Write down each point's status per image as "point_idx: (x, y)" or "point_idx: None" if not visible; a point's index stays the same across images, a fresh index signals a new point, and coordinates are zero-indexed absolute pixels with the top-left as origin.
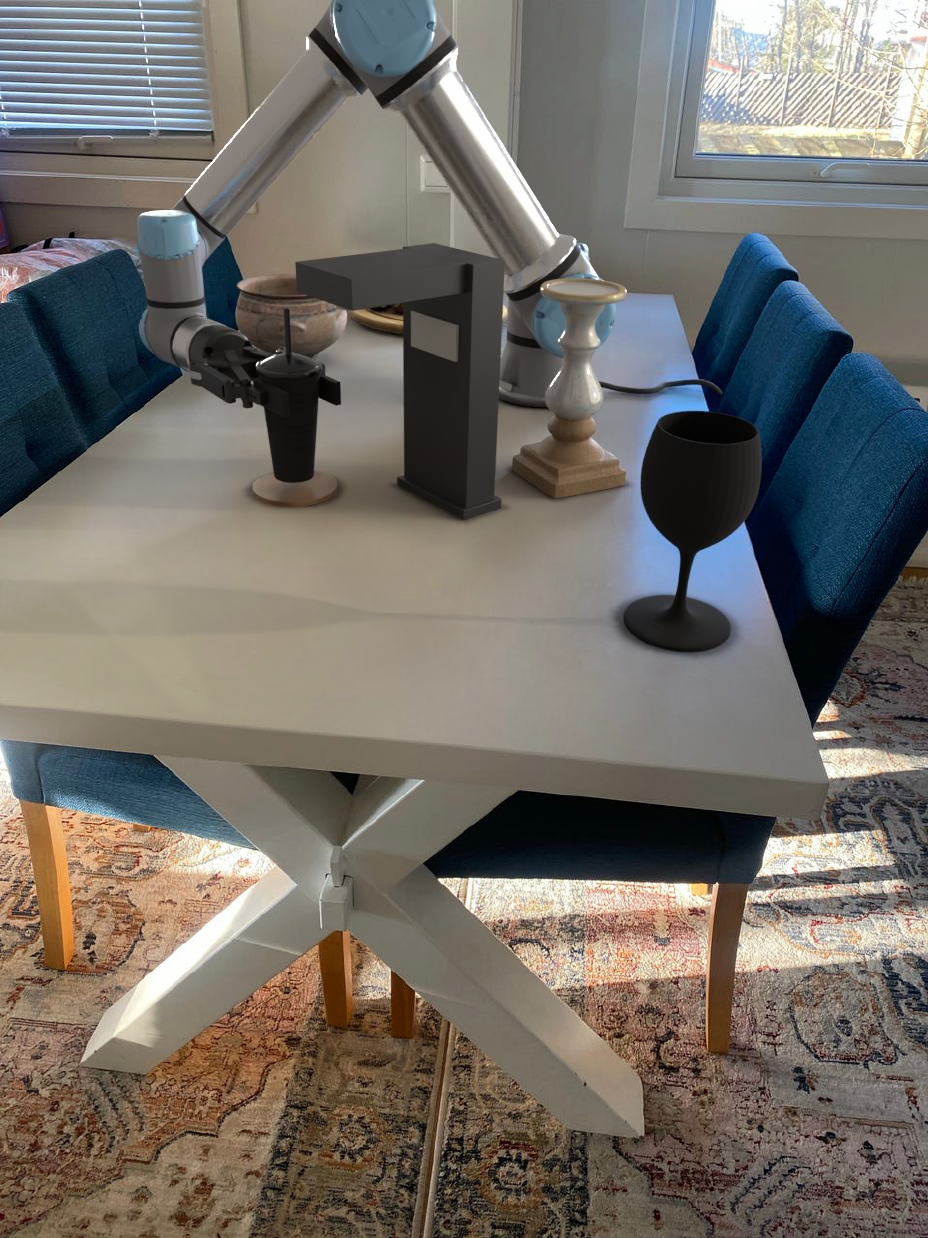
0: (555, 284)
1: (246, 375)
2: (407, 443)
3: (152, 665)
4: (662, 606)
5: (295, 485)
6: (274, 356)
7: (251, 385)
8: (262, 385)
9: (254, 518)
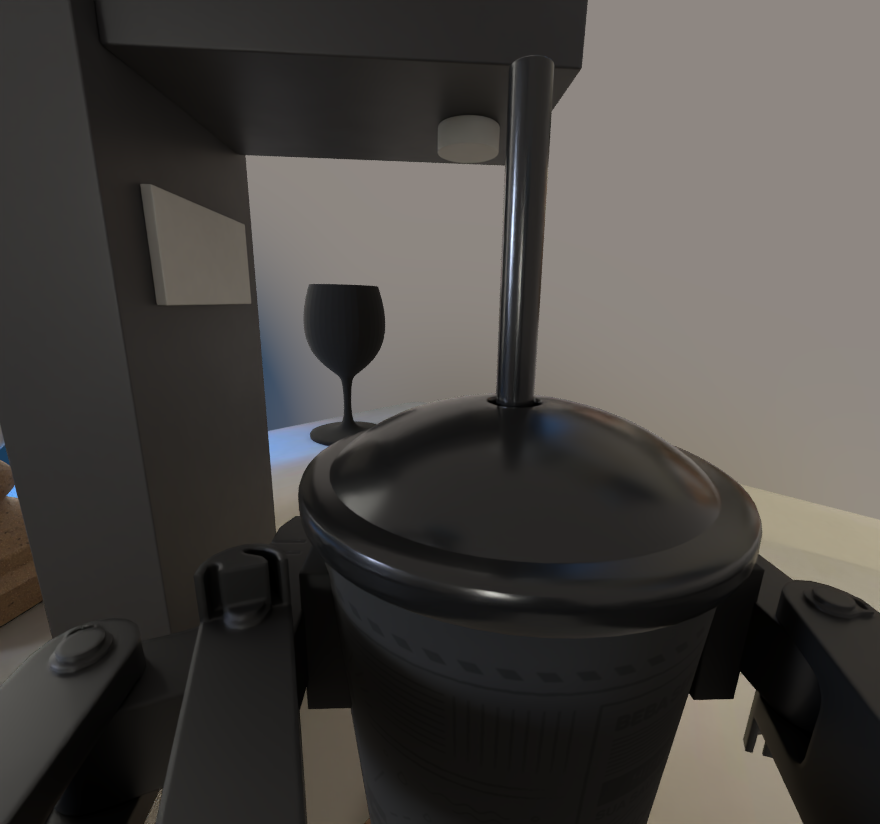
0: None
1: (873, 696)
2: (181, 615)
3: (782, 520)
4: (343, 432)
5: None
6: (607, 426)
7: (767, 596)
8: None
9: (679, 801)
